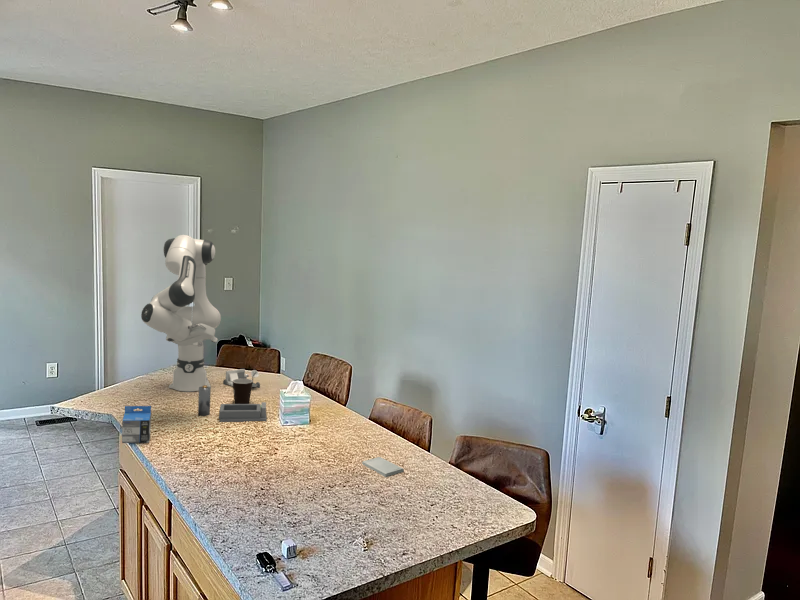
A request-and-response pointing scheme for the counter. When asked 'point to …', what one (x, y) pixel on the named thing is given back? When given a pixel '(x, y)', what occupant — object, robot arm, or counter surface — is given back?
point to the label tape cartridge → (136, 424)
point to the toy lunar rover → (240, 376)
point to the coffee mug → (242, 390)
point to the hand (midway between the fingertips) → (208, 342)
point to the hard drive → (382, 466)
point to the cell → (204, 401)
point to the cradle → (242, 412)
